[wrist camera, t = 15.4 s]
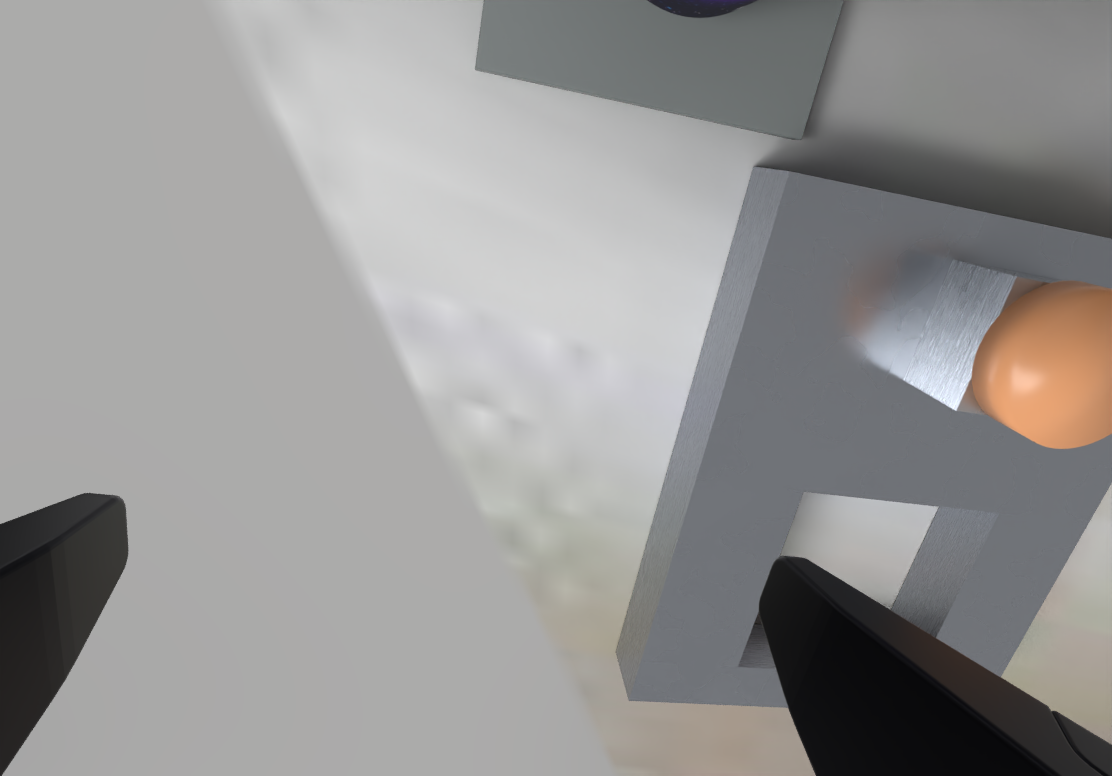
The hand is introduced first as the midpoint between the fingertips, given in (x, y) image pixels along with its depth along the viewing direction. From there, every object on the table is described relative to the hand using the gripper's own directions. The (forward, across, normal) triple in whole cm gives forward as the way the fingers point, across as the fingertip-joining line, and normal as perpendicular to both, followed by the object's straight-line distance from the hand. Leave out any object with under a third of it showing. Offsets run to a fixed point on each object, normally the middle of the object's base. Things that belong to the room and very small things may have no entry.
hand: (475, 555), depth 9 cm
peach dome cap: (+9, -16, -2) cm, 19 cm away
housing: (+13, -16, +4) cm, 21 cm away
